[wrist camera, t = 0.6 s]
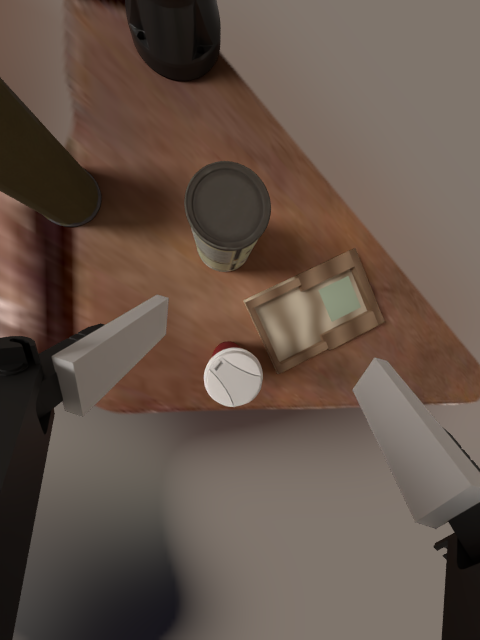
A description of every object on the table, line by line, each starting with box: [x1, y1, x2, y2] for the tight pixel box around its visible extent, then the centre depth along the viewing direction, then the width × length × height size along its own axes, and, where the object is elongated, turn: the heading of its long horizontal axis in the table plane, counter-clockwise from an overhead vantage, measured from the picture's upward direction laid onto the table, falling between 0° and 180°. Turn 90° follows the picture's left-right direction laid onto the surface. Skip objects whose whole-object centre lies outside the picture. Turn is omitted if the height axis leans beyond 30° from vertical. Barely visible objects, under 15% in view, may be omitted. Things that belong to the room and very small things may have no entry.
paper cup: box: [204, 342, 263, 407], centre depth 32 cm, size 8×8×14 cm
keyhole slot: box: [243, 248, 385, 374], centre depth 39 cm, size 24×16×2 cm, turn 115°
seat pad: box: [318, 276, 361, 322], centre depth 40 cm, size 7×7×1 cm
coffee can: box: [185, 161, 271, 272], centre depth 31 cm, size 10×10×14 cm
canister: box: [0, 78, 101, 227], centre depth 24 cm, size 11×10×20 cm
